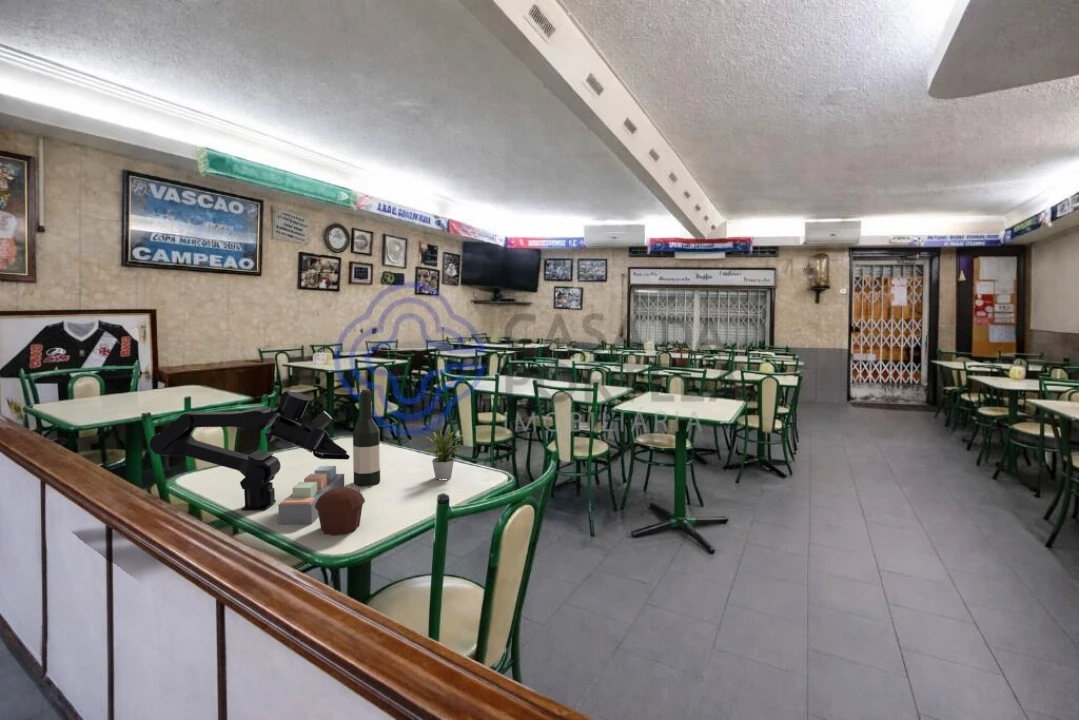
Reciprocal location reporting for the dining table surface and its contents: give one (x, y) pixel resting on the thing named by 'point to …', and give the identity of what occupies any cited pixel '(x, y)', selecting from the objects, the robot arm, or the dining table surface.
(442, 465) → the house plant
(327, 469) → the slate key
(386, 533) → the dining table surface
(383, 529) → the dining table surface
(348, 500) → the muffin
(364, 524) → the dining table surface
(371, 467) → the wine bottle
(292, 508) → the console
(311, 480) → the terracotta key
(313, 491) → the sage key
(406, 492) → the dining table surface
